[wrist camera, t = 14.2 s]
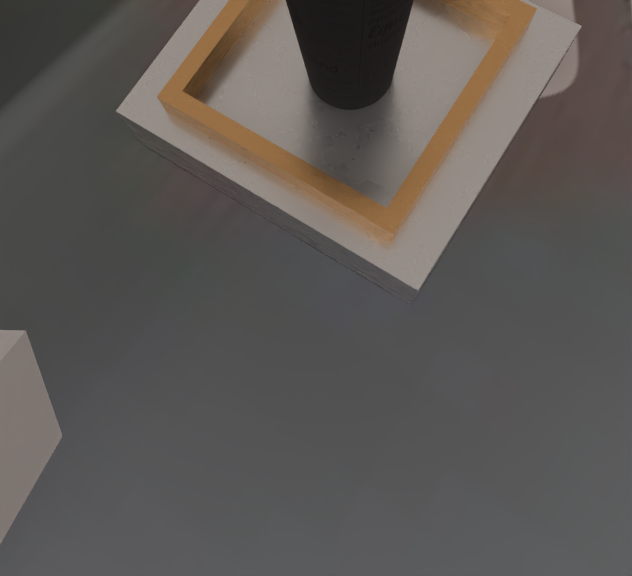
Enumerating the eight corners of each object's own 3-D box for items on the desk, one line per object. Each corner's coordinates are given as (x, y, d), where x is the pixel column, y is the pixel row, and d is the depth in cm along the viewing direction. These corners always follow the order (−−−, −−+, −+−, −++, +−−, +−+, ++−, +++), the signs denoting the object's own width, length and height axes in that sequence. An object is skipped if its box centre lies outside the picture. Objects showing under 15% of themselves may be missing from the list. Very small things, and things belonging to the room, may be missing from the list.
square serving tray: (140, 143, 38) (105, 97, 32) (317, -96, 41) (311, -174, 35) (410, 305, 34) (421, 284, 29) (580, 31, 37) (618, -34, 32)
